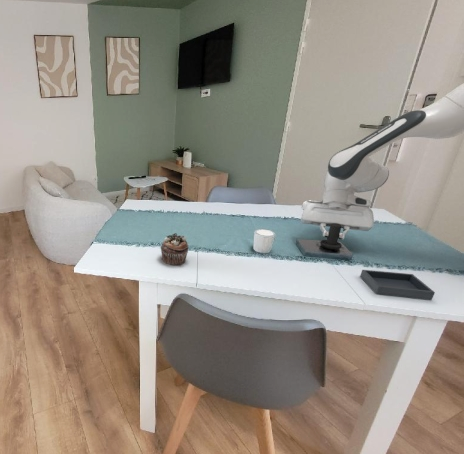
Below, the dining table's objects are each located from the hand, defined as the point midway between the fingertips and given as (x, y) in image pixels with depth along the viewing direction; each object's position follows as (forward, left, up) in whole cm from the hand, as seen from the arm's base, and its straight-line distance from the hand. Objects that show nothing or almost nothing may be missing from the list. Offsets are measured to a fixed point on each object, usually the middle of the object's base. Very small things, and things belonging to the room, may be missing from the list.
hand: (333, 237), depth 101 cm
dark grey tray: (-9, +20, -6) cm, 23 cm away
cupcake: (+53, +16, -6) cm, 56 cm away
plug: (0, -1, -5) cm, 5 cm away
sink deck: (+2, -1, -6) cm, 6 cm away
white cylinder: (+22, +2, -6) cm, 23 cm away
